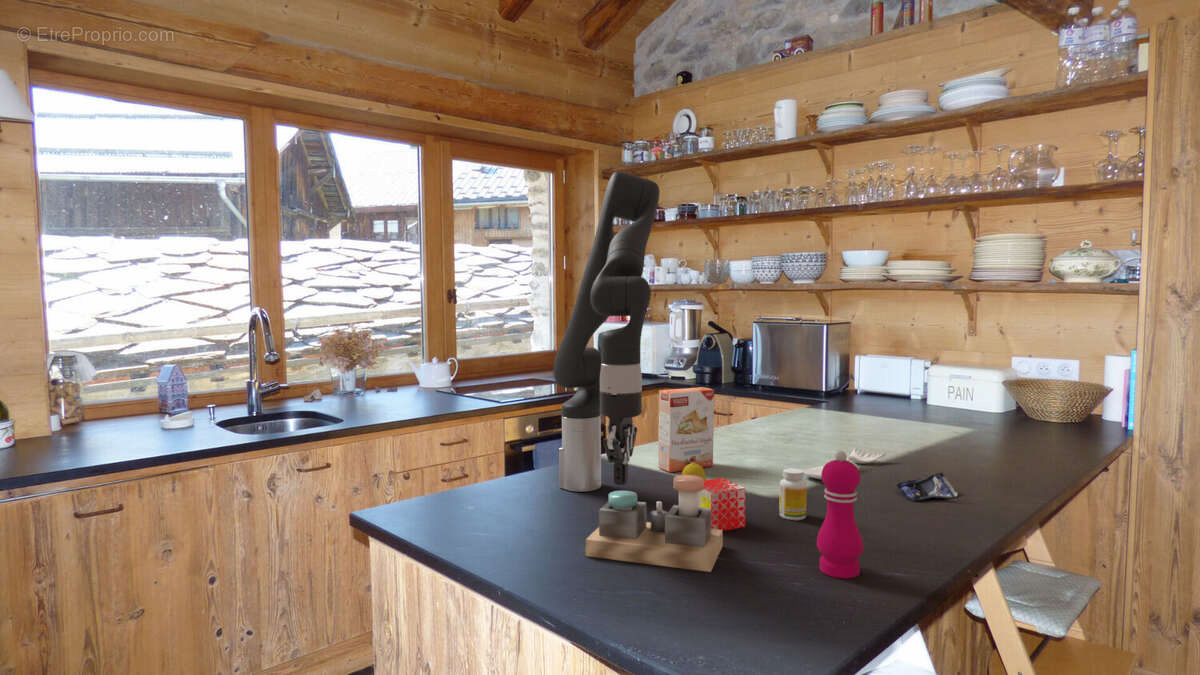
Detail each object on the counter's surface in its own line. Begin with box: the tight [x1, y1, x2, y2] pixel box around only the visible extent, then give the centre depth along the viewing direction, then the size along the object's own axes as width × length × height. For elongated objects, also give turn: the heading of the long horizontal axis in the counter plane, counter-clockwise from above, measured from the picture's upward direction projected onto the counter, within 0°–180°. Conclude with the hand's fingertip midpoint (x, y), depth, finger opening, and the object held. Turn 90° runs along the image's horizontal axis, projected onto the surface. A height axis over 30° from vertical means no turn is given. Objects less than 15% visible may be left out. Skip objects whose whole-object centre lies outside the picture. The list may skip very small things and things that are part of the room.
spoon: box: [802, 447, 887, 480], centre depth 175 cm, size 9×32×4 cm, turn 133°
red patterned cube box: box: [698, 477, 746, 531], centre depth 135 cm, size 8×8×8 cm
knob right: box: [672, 474, 703, 518], centre depth 118 cm, size 5×5×7 cm
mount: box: [585, 500, 724, 573], centre depth 121 cm, size 22×12×8 cm, turn 71°
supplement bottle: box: [778, 467, 808, 521], centre depth 139 cm, size 5×5×10 cm
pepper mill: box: [816, 450, 864, 579], centre depth 111 cm, size 7×7×20 cm
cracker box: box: [658, 386, 715, 473], centre depth 178 cm, size 14×6×21 cm, turn 117°
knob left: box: [608, 490, 638, 511], centre depth 123 cm, size 5×5×7 cm
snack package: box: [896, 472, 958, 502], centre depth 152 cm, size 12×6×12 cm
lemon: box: [681, 462, 707, 481], centre depth 153 cm, size 6×6×8 cm
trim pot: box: [650, 500, 669, 532], centre depth 123 cm, size 3×3×5 cm
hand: (620, 483), depth 122 cm, fingers closed
